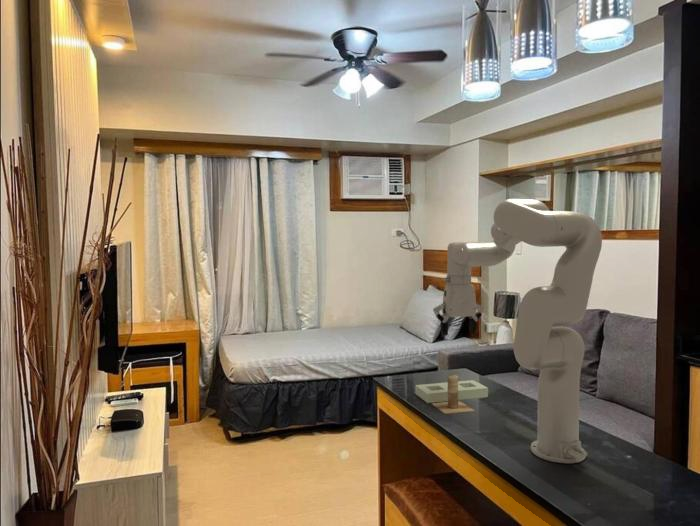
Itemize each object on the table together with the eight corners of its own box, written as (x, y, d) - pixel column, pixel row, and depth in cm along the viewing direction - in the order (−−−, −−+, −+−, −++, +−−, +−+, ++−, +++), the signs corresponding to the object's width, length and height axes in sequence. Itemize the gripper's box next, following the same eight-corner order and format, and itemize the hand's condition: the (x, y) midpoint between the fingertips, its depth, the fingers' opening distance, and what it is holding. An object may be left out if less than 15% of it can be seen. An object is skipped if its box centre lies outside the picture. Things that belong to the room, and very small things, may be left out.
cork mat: (475, 412, 154) (475, 410, 154) (445, 415, 152) (445, 413, 152) (459, 402, 164) (459, 400, 164) (431, 405, 161) (431, 403, 161)
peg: (459, 408, 157) (459, 376, 156) (450, 409, 156) (450, 377, 155) (455, 404, 160) (455, 374, 159) (445, 405, 159) (445, 374, 158)
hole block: (488, 398, 168) (488, 387, 167) (427, 404, 162) (427, 393, 162) (473, 389, 177) (473, 380, 177) (415, 395, 172) (415, 385, 171)
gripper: (438, 282, 154) (438, 337, 155) (489, 281, 159) (488, 334, 160) (429, 280, 162) (429, 332, 163) (477, 279, 166) (477, 330, 167)
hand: (458, 333), depth 161 cm, fingers open, 9 cm apart
